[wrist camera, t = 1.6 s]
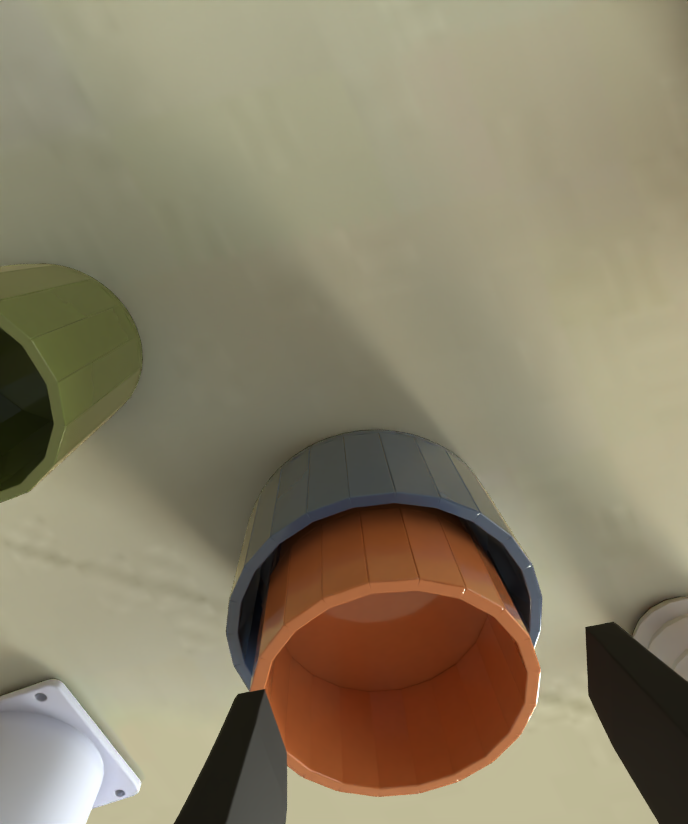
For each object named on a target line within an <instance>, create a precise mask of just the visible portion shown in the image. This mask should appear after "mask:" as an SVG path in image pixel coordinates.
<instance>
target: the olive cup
mask: <svg viewBox="0 0 688 824" xmlns="http://www.w3.org/2000/svg"><path fill="white" fill-rule="evenodd" d="M142 361H143V359H142V346H141V341H140V337H139V334H138V331H137V328H136V326H135V324H134V321H133V319H132V317H131V316H130V314H129V313H128V311H127V309H126V308H125V307H124V305H123V304H122V303H121V301H120V300H119V299H118V298H117V297H116V296H115V295H114V294H113V293H112V292H111V291H110V290H109V289H108V288H106V287H105V286H104V285H103V284H101V283H100V282H98V281H97V280H95V279H94V278H92V277H91V276H89V275H86V274H84V273H82V272H80V271H78V270H75V269H72V268H69V267H66V266H61V265H56V264H46V263H42V264H15V265H7V266H0V503H2V502H4V501H7V500H9V499H12V498H15V497H17V496H20V495H22V494H25V493H28V492H29V491H31V490H32V489H33V488H34V487H35V486H36V485H37V484H38V483H39V482H41V481H42V480H43V479H44V478H45V477H46V476H47V475H48V474H49V473H50V472H52V471H53V470H54V469H55V468H56V467H57V466H58V465H59V464H60V463H61V462H63V461H64V460H65V459H66V458H67V457H68V456H69V455H70V454H71V453H72V452H74V451H75V450H76V449H77V448H78V447H79V446H80V445H81V444H82V443H83V442H85V441H86V440H87V439H88V438H89V437H90V436H91V435H92V434H93V433H94V432H96V431H97V430H98V429H99V428H100V427H101V426H102V425H103V424H104V423H105V422H107V421H108V420H109V419H110V418H111V417H112V416H113V415H114V414H115V413H116V412H117V411H118V410H119V409H120V408H121V407H122V406H123V405H124V404H125V403H126V402H127V400H128V399H129V398H130V397H131V396H132V394H133V392H134V390H135V389H136V386H137V384H138V381H139V379H140V375H141V370H142Z"/></svg>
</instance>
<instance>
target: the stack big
mask: <svg viewBox="0 0 688 824" xmlns="http://www.w3.org/2000/svg"><path fill="white" fill-rule="evenodd" d="M392 503H397V504H406V505H414V506H423V507H431V508H437V509H440V510H443V511H445V512H448V513H451V514H453V515H456V516H458V517H461V518H464V519H466V520H469V521H470V522H471V524H472V526H473V528H474V530H475V532H476V534H477V536H478V538H479V540H480V542H481V544H482V546H483V548H484V550H485V552H486V554H487V555H488V556H489V558H490V559H491V561H492V563H493V565H494V567H495V569H496V571H497V573H498V575H499V577H500V579H501V580H502V582H503V584H504V586H505V588H506V590H507V592H508V594H509V596H510V598H511V600H512V602H513V604H514V606H515V608H516V610H517V612H518V614H519V616H520V618H521V620H522V622H523V624H524V626H525V628H526V629H527V631H528V633H529V635H530V637H531V640H532V644H533V647H534V648H535V645H536V642H537V640H538V637H539V634H540V631H541V617H542V594H541V591H540V587H539V584H538V581H537V577H536V574H535V571H534V568H533V565H532V563H531V561H530V560H529V558H528V556H527V555H526V553H525V552H524V550H523V548H522V547H521V545H520V544H519V542H518V540H517V539H516V537H515V536H514V534H513V532H512V531H511V529H510V528H509V526H508V525H507V523H506V521H505V520H504V518H503V517H502V515H501V513H500V512H499V510H498V509H497V507H496V505H495V504H494V502H493V501H492V499H491V497H490V496H489V494H488V493H487V491H486V490H485V488H484V487H483V486H482V484H481V483H480V481H479V480H478V478H477V477H476V476H475V474H474V473H473V472H472V470H470V468H469V467H468V466H467V465H466V464H465V463H464V462H463V461H461V460H460V459H459V458H458V457H457V456H456V455H454V454H453V453H451V452H450V451H448V450H447V449H445V448H444V447H442V446H440V445H438V444H436V443H434V442H432V441H430V440H428V439H425V438H422V437H419V436H416V435H413V434H408V433H403V432H398V431H389V430H364V431H356V432H350V433H344V434H340V435H337V436H334V437H331V438H327V439H325V440H322V441H320V442H318V443H316V444H313V445H311V446H309V447H308V448H306V449H304V450H303V451H301V452H299V453H298V454H296V455H295V456H293V457H292V458H291V459H290V460H288V461H287V462H286V463H285V464H283V465H282V466H281V467H280V468H279V469H278V470H277V472H276V473H275V474H274V475H273V476H272V477H271V478H270V480H269V481H268V482H267V484H266V485H265V486H264V488H263V489H262V491H261V493H260V495H259V497H258V499H257V501H256V503H255V505H254V508H253V511H252V514H251V516H250V519H249V521H248V525H247V529H246V533H245V537H244V541H243V545H242V550H241V554H240V558H239V562H238V566H237V570H236V574H235V578H234V582H233V586H232V590H231V594H230V598H229V605H228V615H227V625H226V636H227V641H228V645H229V649H230V653H231V657H232V662H233V665H234V667H235V669H236V670H237V672H238V674H239V675H240V677H241V679H242V680H243V682H244V683H245V685H246V687H247V688H248V690H249V692H250V685H251V678H252V672H253V665H254V659H255V652H256V646H257V639H258V633H259V626H260V620H261V613H262V607H263V602H264V598H265V594H266V588H267V581H268V574H269V568H270V561H271V554H272V552H273V551H274V550H275V549H276V548H277V547H278V546H279V544H281V543H282V542H284V541H285V540H287V539H288V538H290V537H291V536H293V535H294V534H296V533H297V532H299V531H300V530H302V529H303V528H305V527H306V526H308V525H309V524H311V523H312V522H315V521H318V520H320V519H323V518H326V517H329V516H332V515H334V514H337V513H340V512H343V511H346V510H348V509H351V508H357V507H366V506H375V505H383V504H392Z"/></svg>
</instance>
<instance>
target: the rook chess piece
mask: <svg viewBox="0 0 688 824" xmlns="http://www.w3.org/2000/svg"><path fill="white" fill-rule="evenodd" d="M633 638H634V639H636V640H637V641H638V642H639V643H640V644H642V645H643V646H644V647H645V648H646V649H648V650H649V651H650V652H651V653H653V654H654V655H655V656H656V657H658V658H659V659H660V660H661V661H663V662H664V663H665V664H666V665H668V666H669V667H670V668H671V669H673V670H674V671H675V672H676V673H678V674H679V675H680V676H681V677H683V678H684V679H685V680H687V681H688V598H687V597H678V598H674V599H669V600H665V601H663V602H661V603H659V604H657V605H656V606H654V607H652V608H650V609H649V610H648V611H647V612H646V613H645V614H644V615H643V616H642V617H641V618H640V619H639V621H638V623H637V625H636V628H635V630H634V632H633Z"/></svg>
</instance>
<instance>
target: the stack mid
mask: <svg viewBox="0 0 688 824" xmlns="http://www.w3.org/2000/svg"><path fill="white" fill-rule="evenodd" d="M540 673H541V670H540V665H539V662H538V659H537V656H536V653H535V650H534V647H533V644H532V640H531V637H530V635H529V633H528V631H527V629H526V628H525V626H524V624H523V622H522V620H521V618H520V616H519V614H518V612H517V610H516V608H515V606H514V604H513V602H512V600H511V598H510V596H509V594H508V592H507V590H506V588H505V586H504V584H503V582H502V580H501V579H500V577H499V575H498V573H497V571H496V569H495V567H494V565H493V563H492V561H491V559H490V558H489V556H488V555H487V554H486V552H485V550H484V548H483V546H482V544H481V542H480V540H479V538H478V536H477V534H476V532H475V530H474V528H473V526H472V524H471V522H470V521H469V520H466V519H464V518H461V517H458V516H456V515H453V514H451V513H448V512H445V511H443V510H440V509H437V508H431V507H423V506H414V505H406V504H397V503H392V504H383V505H375V506H366V507H357V508H351V509H348V510H346V511H343V512H340V513H337V514H334V515H332V516H329V517H326V518H323V519H320V520H318V521H315V522H312V523H311V524H309V525H308V526H306V527H305V528H303V529H302V530H300V531H299V532H297V533H296V534H294V535H293V536H291V537H290V538H288V539H287V540H285V541H284V542H282V543H281V544H279V546H278V547H277V548H276V549H275V550H274V551H273V552H272V554H271V561H270V568H269V574H268V581H267V588H266V594H265V598H264V602H263V607H262V613H261V620H260V626H259V633H258V639H257V646H256V652H255V659H254V665H253V672H252V678H251V685H250V692H251V691H257V690H262V689H265V691H266V694H267V697H268V700H269V703H270V706H271V708H272V711H273V714H274V717H275V720H276V723H277V725H278V728H279V731H280V734H281V737H282V740H283V743H284V745H285V748H286V751H287V766H288V767H289V768H291V769H292V770H293V771H295V772H296V773H297V774H298V775H300V776H301V777H303V778H305V779H308V780H310V781H313V782H315V783H318V784H320V785H323V786H325V787H328V788H330V789H333V790H335V791H339V792H345V793H353V794H360V795H367V796H375V797H377V796H379V797H384V796H396V795H408V794H418V793H423V792H426V791H430V790H433V789H436V788H440V787H443V786H446V785H449V784H453V783H456V782H458V781H461V780H463V779H464V778H466V777H468V776H470V775H471V774H473V773H475V772H477V771H478V770H480V769H482V768H484V767H485V766H487V765H489V764H491V763H492V762H493V761H495V760H496V759H497V758H498V757H499V756H500V755H501V754H502V753H503V752H504V751H505V750H506V749H507V748H508V747H509V746H510V745H511V744H512V743H513V742H514V741H515V740H516V739H517V738H518V737H519V736H520V735H521V734H522V732H523V730H524V728H525V726H526V724H527V722H528V720H529V718H530V717H531V715H532V713H533V711H534V709H535V707H536V705H537V700H538V691H539V682H540Z"/></svg>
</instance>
